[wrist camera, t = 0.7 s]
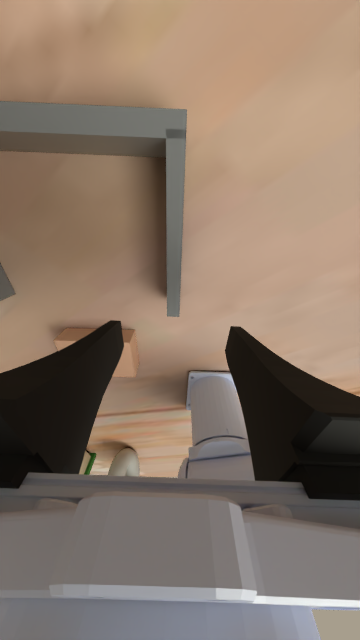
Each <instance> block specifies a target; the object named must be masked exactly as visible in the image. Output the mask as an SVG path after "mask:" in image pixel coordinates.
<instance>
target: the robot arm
mask: <svg viewBox="0 0 360 640" xmlns="http://www.w3.org/2000/svg"><path fill="white" fill-rule="evenodd" d="M123 348H124V341H123V335H122V328H121V321H109V322H107V323H106V324H104V325H103V326H101V327H99V328H98V329H96V330H95V331H93V332H91V333H90V334H88V335H87V336H85V337H83V338H82V339H80V340H78V341H76V342H75V343H73V344H71V345H69V346H67V347H65V348H63V349H61V350H59V351H57V352H55V353H53V354H51V355H48V356H46V357H44V358H41V359H39V360H36V361H34V362H31V363H29V364H26V365H24V366H21V367H18V368H15V369H12V370H9V371H6V372H3V373H0V640H321V638H320V635H319V632H318V629H317V626H316V623H315V620H314V617H313V614H312V610H311V609H322V610H360V397H359V396H356V395H354V394H351V393H348V392H346V391H344V390H341V389H339V388H337V387H335V386H332V385H330V384H328V383H326V382H324V381H322V380H320V379H318V378H315V377H314V376H312V375H310V374H308V373H306V372H304V371H302V370H300V369H299V368H297V367H295V366H293V365H292V364H290V363H289V362H287V361H285V360H284V359H282V358H281V357H279V356H278V355H276V354H275V353H273V352H272V351H271V350H269V349H268V348H267V347H265V346H264V345H263V344H261V343H260V342H259V341H258V340H256V339H255V338H254V337H253V336H251V335H250V334H249V333H248V332H246V331H245V330H244V329H243V328H241V327H234V326H231V328H230V332H229V336H228V340H227V345H226V349H225V353H226V358H227V363H228V367H229V370H230V372H200V371H191V372H189V378H188V390H187V401H186V409H187V410H191V421H192V443H193V447H190V448H189V458H185V459H184V460H183V462H182V465H181V466H180V469H179V473H178V478H166V477H139V476H111V475H84V474H79V472H80V469H81V465H82V461H83V458H84V454H85V450H86V447H87V444H88V440H89V437H90V434H91V430H92V427H93V424H94V421H95V418H96V415H97V412H98V409H99V406H100V403H101V400H102V398H103V395H104V393H105V390H106V388H107V386H108V384H109V382H110V380H111V377H112V375H113V373H114V371H115V369H116V367H117V365H118V363H119V360H120V358H121V355H122V352H123ZM192 376H193V377H192ZM237 393H238V396H239V399H238V396H237ZM239 400H240V402H239ZM240 404H241V405H240ZM241 408H242V409H241Z"/></svg>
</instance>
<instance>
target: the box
mask: <svg viewBox="0 0 360 640" xmlns="http://www.w3.org/2000/svg"><path fill="white" fill-rule="evenodd" d="M186 122H187V109H166V108H143V107H121V106H98V105H76V104H53V103H31V102H9V101H0V151H23V152H46V153H70V154H94V155H117V156H141V157H165V158H166V224H167V316H172V317H179V312H180V285H181V258H182V230H183V203H184V176H185V149H186ZM14 294H15V292H14V290H13V288H12V286H11V284H10V282H9V280H8V278H7V276H6V274H5V272H4V270H3V268H2V266H1V263H0V301H1V300H3V299H6V298H8V297H10V296H12V295H14Z"/></svg>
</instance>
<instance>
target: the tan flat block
mask: <svg viewBox="0 0 360 640" xmlns="http://www.w3.org/2000/svg"><path fill="white" fill-rule="evenodd" d="M95 330H96V329H85V328H66V329H65V330H64V331H63V332H62V333H61V334H60V335H59V336H58V337H57V338H55V339H54V340H53V341H54V343H55V345H56V347H57V350H58V351H59V350H61V349H63V348H65V347H67V346H69V345H71V344H73V343H75V342H76V341H78V340H80V339H82V338H83V337H85V336H87V335H88V334H90V333H91V332H93V331H95ZM122 335H123V341H124V348H123V352H122V355H121V358H120V360H119V363H118V365H117V367H116V369H115V371H114V373H113V375H112V377H136V373H137V370H138V366H139V356H138V348H137V340H136V333H135V330H122Z"/></svg>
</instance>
